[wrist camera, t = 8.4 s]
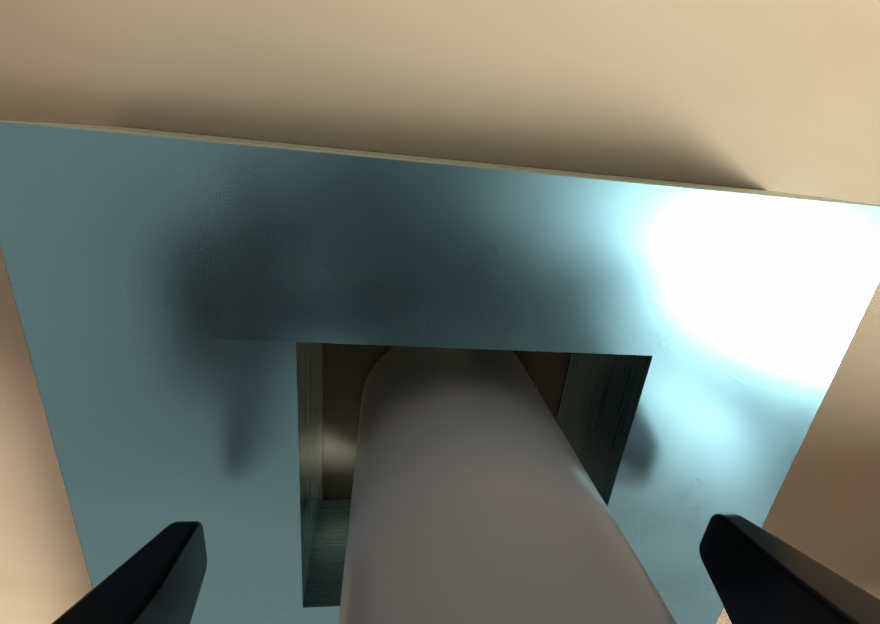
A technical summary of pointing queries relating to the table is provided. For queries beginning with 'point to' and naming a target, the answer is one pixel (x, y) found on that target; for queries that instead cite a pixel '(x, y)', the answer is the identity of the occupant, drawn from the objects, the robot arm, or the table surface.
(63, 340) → the plate
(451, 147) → the table surface
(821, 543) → the table surface
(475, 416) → the grey cylinder
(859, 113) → the table surface
